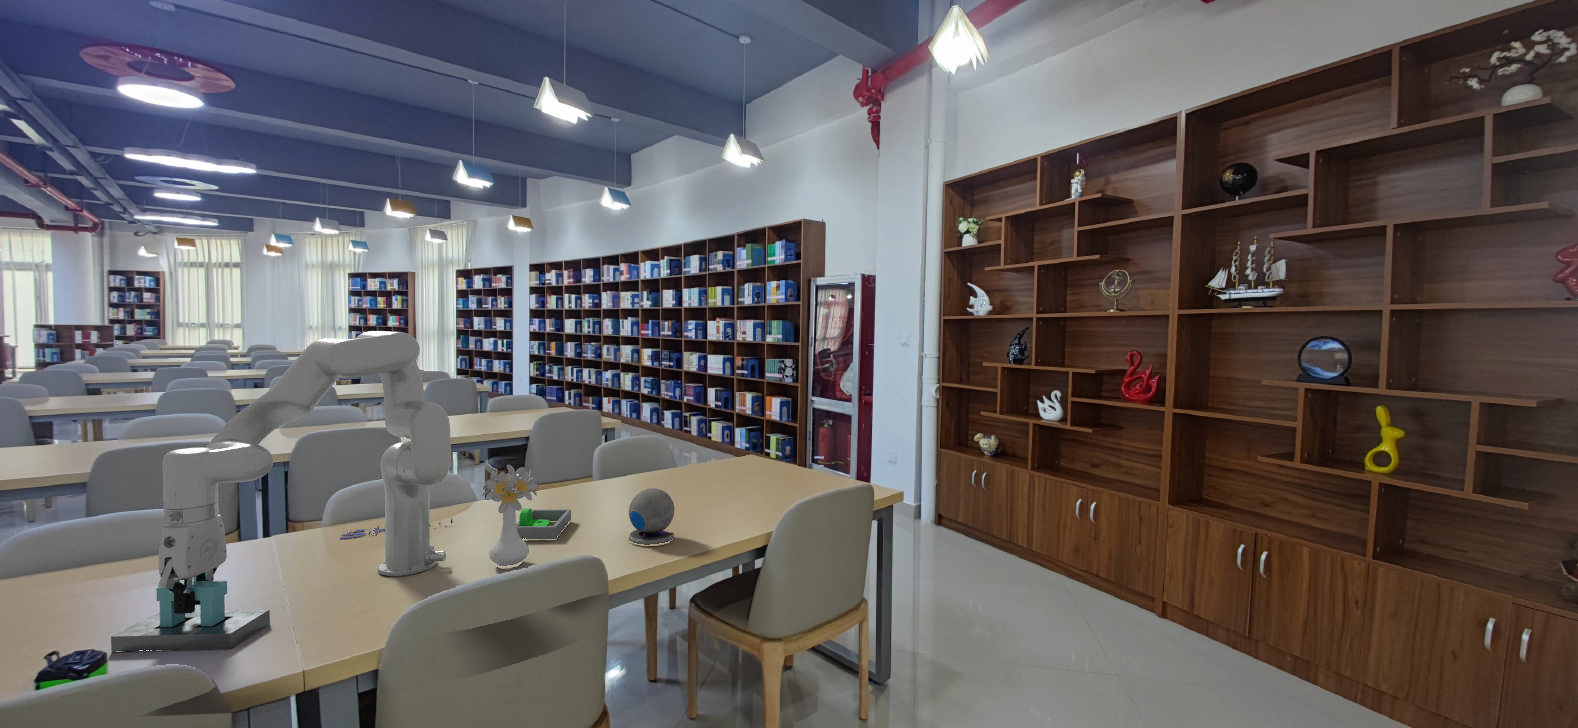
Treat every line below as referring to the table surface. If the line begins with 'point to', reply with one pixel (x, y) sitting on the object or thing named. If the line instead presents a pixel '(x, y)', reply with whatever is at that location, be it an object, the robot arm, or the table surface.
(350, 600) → the table surface
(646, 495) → the webcam
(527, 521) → the mechanical part
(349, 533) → the signage
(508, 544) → the flower vase
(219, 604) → the clip
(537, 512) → the parts tray
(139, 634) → the gray slotted base plate
